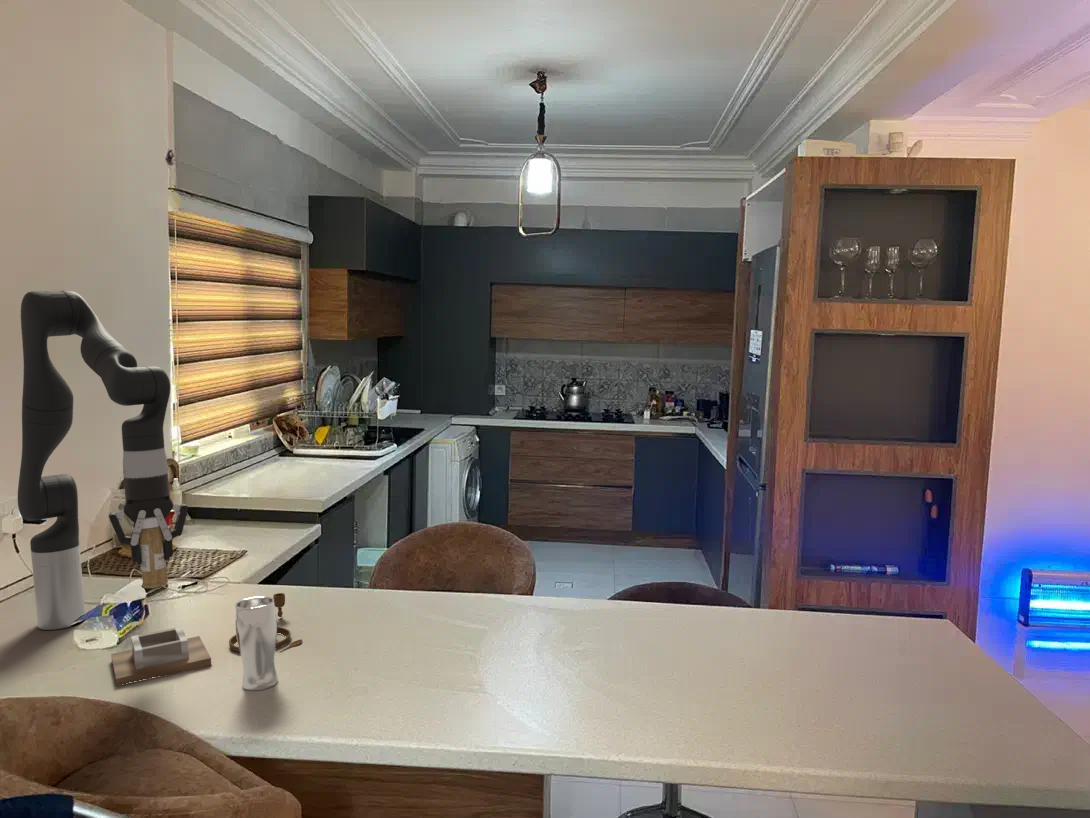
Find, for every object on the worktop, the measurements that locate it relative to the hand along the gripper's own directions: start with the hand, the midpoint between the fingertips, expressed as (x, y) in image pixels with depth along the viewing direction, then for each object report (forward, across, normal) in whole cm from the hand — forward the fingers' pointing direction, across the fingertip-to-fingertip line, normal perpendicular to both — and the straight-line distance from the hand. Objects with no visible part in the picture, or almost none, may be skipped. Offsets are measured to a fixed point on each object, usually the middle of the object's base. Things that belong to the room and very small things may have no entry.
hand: (152, 561), depth 155 cm
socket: (+20, 0, 0) cm, 20 cm away
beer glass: (+20, -14, +21) cm, 33 cm away
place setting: (+21, -22, -2) cm, 30 cm away
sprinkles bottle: (+5, 0, 0) cm, 5 cm away
